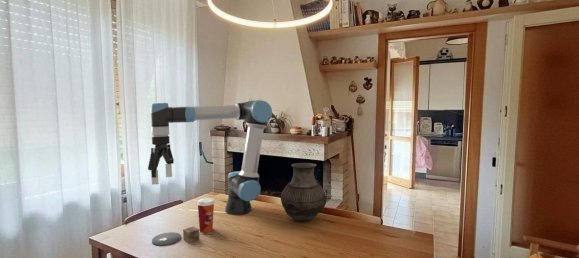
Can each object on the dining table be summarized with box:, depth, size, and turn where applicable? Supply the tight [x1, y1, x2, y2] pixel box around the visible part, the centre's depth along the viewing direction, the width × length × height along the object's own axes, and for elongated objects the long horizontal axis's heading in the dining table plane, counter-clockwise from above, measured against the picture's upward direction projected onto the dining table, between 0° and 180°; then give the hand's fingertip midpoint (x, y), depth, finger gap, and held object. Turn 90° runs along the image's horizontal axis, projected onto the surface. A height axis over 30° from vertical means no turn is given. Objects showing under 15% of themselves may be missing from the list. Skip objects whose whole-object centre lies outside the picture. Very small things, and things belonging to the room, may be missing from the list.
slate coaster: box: [151, 231, 182, 247], centre depth 131 cm, size 12×12×1 cm
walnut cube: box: [182, 226, 200, 244], centre depth 131 cm, size 5×5×5 cm
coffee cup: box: [196, 197, 215, 234], centre depth 141 cm, size 8×8×15 cm
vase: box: [280, 162, 327, 222], centre depth 156 cm, size 25×25×30 cm
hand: (162, 180), depth 137 cm, fingers open, 13 cm apart
